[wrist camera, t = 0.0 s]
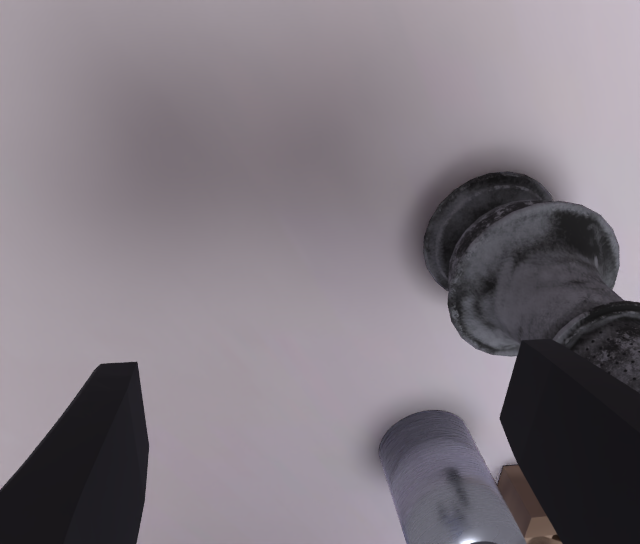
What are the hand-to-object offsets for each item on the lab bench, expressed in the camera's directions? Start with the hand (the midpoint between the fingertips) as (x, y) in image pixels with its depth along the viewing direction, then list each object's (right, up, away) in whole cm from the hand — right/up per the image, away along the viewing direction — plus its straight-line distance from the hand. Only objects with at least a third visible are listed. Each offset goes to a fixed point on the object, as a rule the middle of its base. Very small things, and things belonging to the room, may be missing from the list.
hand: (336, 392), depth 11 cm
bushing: (+5, -6, +16) cm, 18 cm away
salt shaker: (+6, +4, +11) cm, 13 cm away
